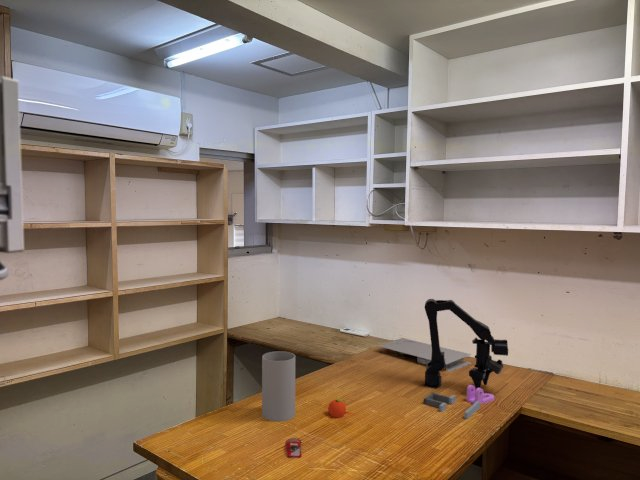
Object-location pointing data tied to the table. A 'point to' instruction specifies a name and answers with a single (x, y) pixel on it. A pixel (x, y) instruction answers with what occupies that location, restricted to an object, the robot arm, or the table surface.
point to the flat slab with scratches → (427, 352)
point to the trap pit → (433, 397)
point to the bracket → (478, 395)
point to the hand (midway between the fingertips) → (481, 387)
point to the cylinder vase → (278, 386)
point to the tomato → (337, 408)
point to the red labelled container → (293, 448)
